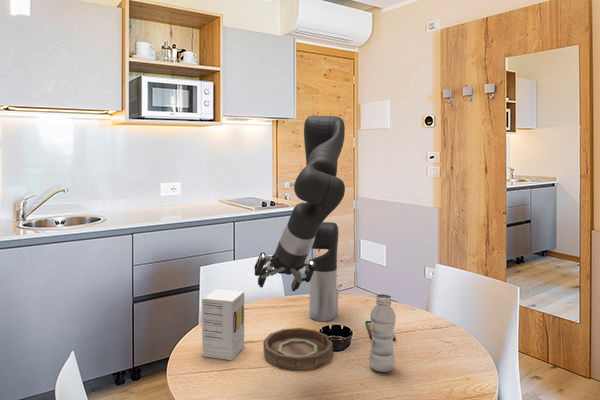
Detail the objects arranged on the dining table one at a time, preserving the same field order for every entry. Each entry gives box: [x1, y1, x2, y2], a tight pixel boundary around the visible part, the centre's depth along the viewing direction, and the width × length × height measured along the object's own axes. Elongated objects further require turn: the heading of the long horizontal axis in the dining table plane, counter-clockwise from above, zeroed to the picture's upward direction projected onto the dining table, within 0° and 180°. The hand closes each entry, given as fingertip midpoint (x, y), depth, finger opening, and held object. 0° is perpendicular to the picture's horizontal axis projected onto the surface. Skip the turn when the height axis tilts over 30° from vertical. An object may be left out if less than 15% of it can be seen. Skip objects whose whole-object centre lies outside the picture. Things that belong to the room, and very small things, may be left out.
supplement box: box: [201, 288, 245, 361], centre depth 122 cm, size 10×9×17 cm
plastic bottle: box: [368, 293, 397, 373], centre depth 113 cm, size 6×7×20 cm
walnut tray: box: [263, 327, 334, 372], centre depth 122 cm, size 19×19×4 cm
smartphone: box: [365, 320, 397, 341], centre depth 138 cm, size 8×1×15 cm
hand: (276, 286), depth 110 cm, fingers open, 8 cm apart
